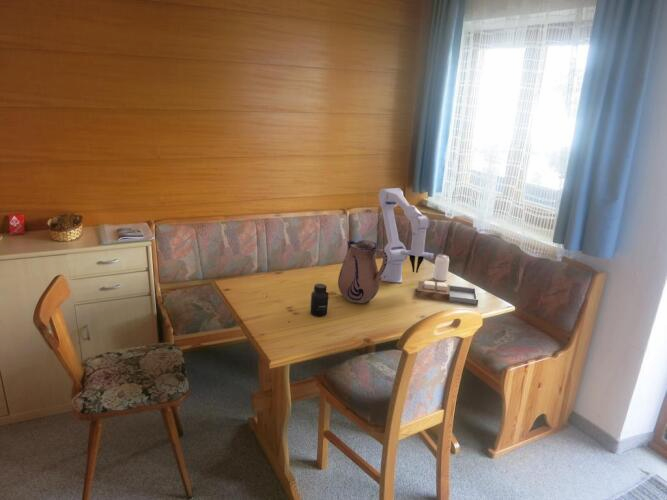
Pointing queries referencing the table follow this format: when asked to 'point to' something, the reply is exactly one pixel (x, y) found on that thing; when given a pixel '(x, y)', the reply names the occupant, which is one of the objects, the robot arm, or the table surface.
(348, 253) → the ceramic pitcher
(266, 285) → the table surface
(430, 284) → the tile
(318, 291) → the supplement bottle
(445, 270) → the can
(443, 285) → the tile
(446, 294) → the brown board
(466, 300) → the tray
